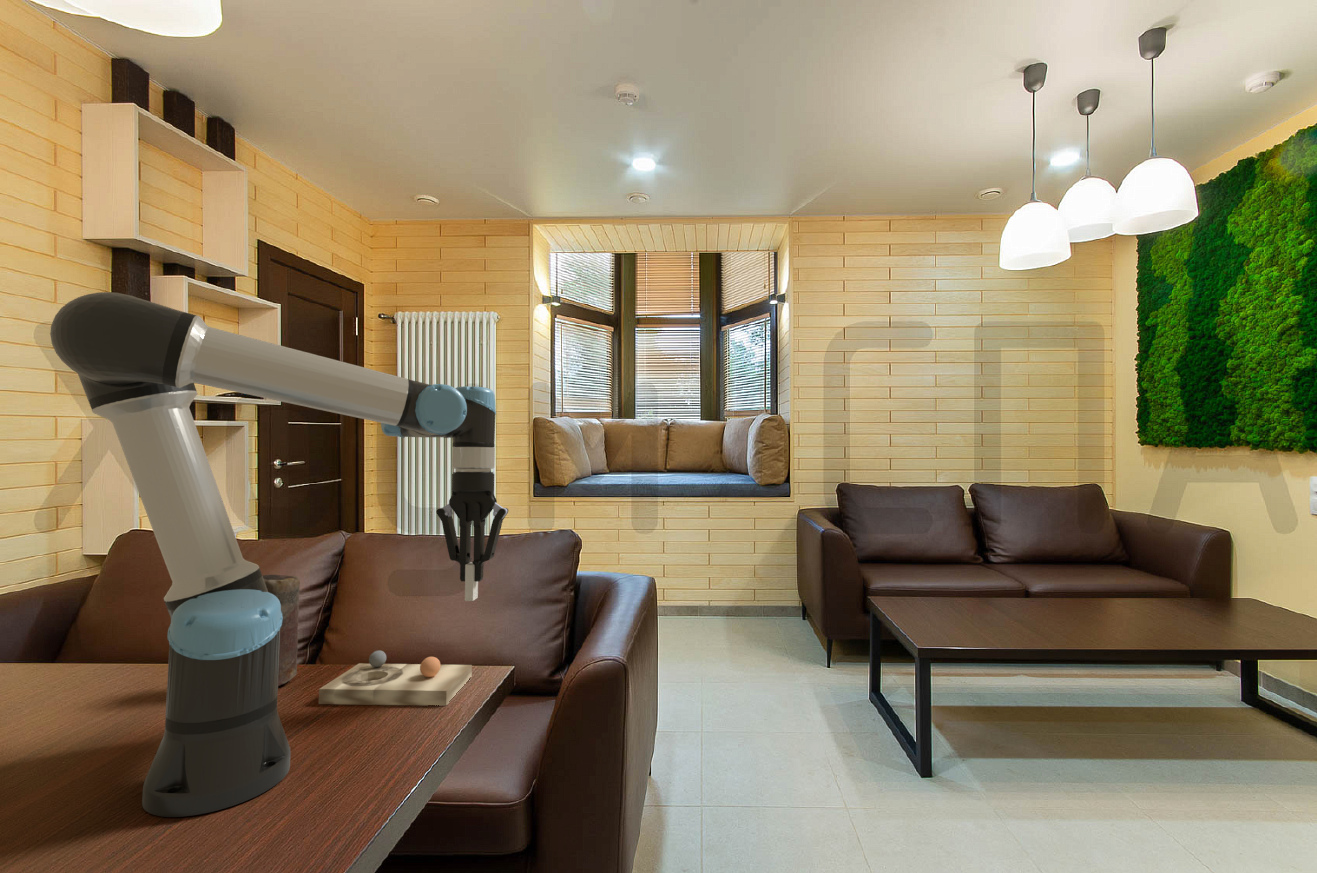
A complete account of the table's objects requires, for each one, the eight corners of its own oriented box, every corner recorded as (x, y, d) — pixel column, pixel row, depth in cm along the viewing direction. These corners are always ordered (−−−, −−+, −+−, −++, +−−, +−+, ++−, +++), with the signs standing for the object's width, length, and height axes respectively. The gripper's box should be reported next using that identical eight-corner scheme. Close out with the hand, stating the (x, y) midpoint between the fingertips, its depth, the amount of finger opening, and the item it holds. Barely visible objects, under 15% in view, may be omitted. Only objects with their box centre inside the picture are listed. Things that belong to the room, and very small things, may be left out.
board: (471, 678, 112) (471, 665, 112) (446, 705, 99) (446, 690, 100) (358, 676, 113) (359, 663, 113) (318, 704, 100) (319, 689, 100)
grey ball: (388, 667, 111) (388, 651, 111) (371, 670, 109) (371, 654, 109) (383, 663, 113) (384, 647, 113) (366, 666, 111) (367, 650, 111)
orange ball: (443, 677, 106) (443, 657, 106) (423, 681, 104) (424, 661, 104) (436, 671, 109) (436, 652, 109) (417, 676, 106) (417, 656, 106)
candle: (264, 677, 112) (268, 572, 113) (304, 675, 113) (308, 571, 114) (240, 692, 104) (245, 579, 105) (283, 691, 105) (288, 579, 106)
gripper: (513, 470, 112) (512, 594, 110) (446, 470, 112) (443, 594, 111) (502, 470, 104) (500, 604, 103) (430, 470, 104) (427, 604, 103)
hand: (471, 599), depth 107 cm, fingers closed
